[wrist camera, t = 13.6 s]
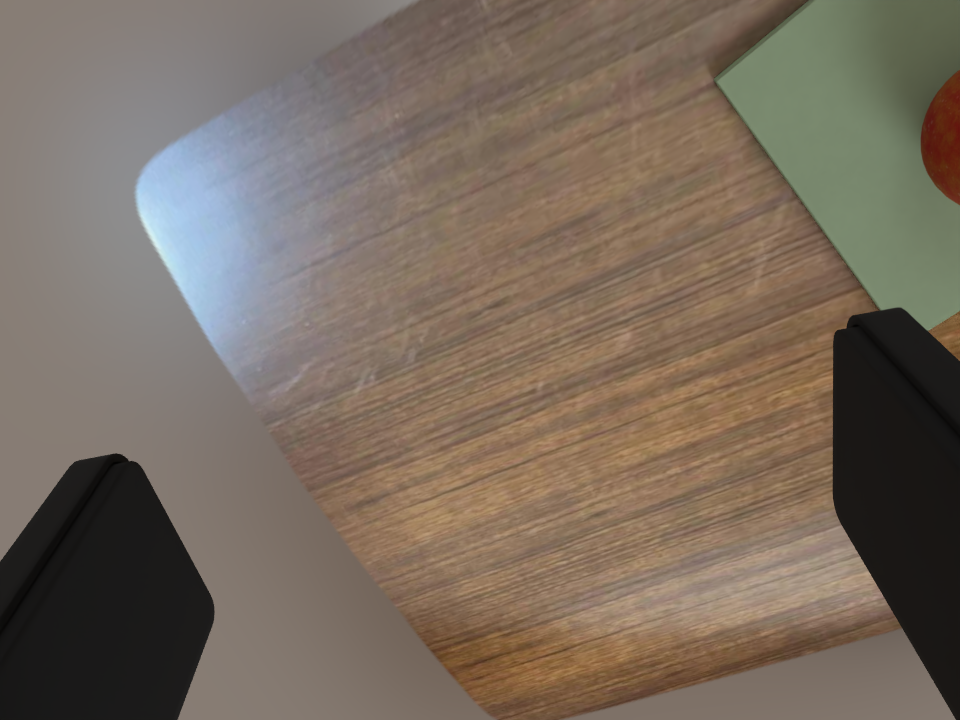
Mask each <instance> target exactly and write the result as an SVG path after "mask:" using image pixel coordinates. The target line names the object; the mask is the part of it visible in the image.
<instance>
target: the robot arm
mask: <svg viewBox="0 0 960 720" xmlns="http://www.w3.org/2000/svg"><path fill="white" fill-rule="evenodd" d="M833 501H834V506H835V510H836V513H837V516H838V518H839V521H840V523H841V525H842V526H843V528H844V530H845V531H846V533H847V535H848V537H849V538H850V540H851V542H852V543H853V545H854V547H855V548H856V550H857V552H858V554H859V555H860V557H861V559H862V560H863V562H864V564H865V565H866V567H867V569H868V571H869V572H870V574H871V576H872V577H873V579H874V581H875V582H876V584H877V586H878V588H879V589H880V591H881V593H882V594H883V596H884V598H885V599H886V601H887V603H888V605H889V606H890V608H891V610H892V611H893V613H894V615H895V617H896V618H897V620H898V622H899V623H900V625H901V627H902V628H903V630H904V632H905V633H906V635H907V637H908V639H909V640H910V642H911V644H912V645H913V647H914V649H915V651H916V652H917V654H918V656H919V657H920V659H921V661H922V662H923V664H924V666H925V668H926V669H927V671H928V673H929V674H930V676H931V678H932V679H933V681H934V683H935V685H936V686H937V688H938V690H939V691H940V693H941V694H942V697H943V698H944V700H945V702H946V703H947V705H948V707H949V708H950V710H951V712H952V714H953V715H954V717H955V719H956V720H960V361H959V360H958V359H957V358H956V357H955V356H953V355H952V354H951V353H950V352H949V351H948V350H947V349H946V348H945V347H944V346H943V345H942V344H941V343H940V342H939V341H938V340H937V339H935V338H934V337H933V336H932V335H931V334H930V333H929V332H928V331H927V330H926V329H925V328H924V327H923V326H922V325H921V324H920V323H919V322H917V321H916V320H915V319H914V318H913V317H912V316H911V315H910V314H909V313H908V312H907V311H906V310H904V309H903V308H901V307H896V308H891V309H886V310H880V311H875V312H870V313H864V314H859V315H853V316H851V317H850V318H849V321H848V323H847V328H846V329H841V330H837V331H836V332H835V335H834V341H833ZM213 621H214V604H213V600H212V597H211V595H210V593H209V591H208V589H207V587H206V586H205V584H204V582H203V580H202V578H201V576H200V574H199V573H198V571H197V569H196V567H195V565H194V563H193V561H192V560H191V558H190V556H189V554H188V552H187V550H186V548H185V547H184V545H183V543H182V541H181V539H180V537H179V535H178V534H177V532H176V530H175V528H174V526H173V525H172V523H171V521H170V519H169V517H168V515H167V513H166V511H165V509H164V508H163V506H162V504H161V502H160V500H159V499H158V497H157V495H156V493H155V491H154V489H153V487H152V485H151V484H150V482H149V480H148V478H147V476H146V474H145V472H144V471H143V469H142V468H141V466H140V465H139V464H138V463H136V462H134V461H128V459H127V458H126V457H124V456H123V455H121V454H110V455H105V456H100V457H95V458H89V459H84V460H79V461H76V462H74V463H73V464H72V465H71V466H70V467H69V469H68V470H67V471H66V472H65V474H64V475H63V477H62V478H61V479H60V481H59V482H58V483H57V485H56V486H55V488H54V489H53V490H52V492H51V493H50V494H49V496H48V497H47V499H46V500H45V501H44V503H43V504H42V505H41V507H40V508H39V509H38V511H37V512H36V514H35V515H34V516H33V518H32V519H31V521H30V522H29V523H28V524H27V526H26V527H25V529H24V530H23V531H22V533H21V534H20V535H19V537H18V538H17V539H16V541H15V542H14V544H13V545H12V546H11V548H10V549H9V550H8V552H7V553H6V555H5V556H4V557H3V559H2V560H1V561H0V720H177V719H178V717H179V714H180V711H181V709H182V706H183V703H184V701H185V698H186V695H187V693H188V690H189V687H190V684H191V682H192V679H193V676H194V674H195V671H196V668H197V666H198V663H199V660H200V657H201V655H202V652H203V649H204V647H205V644H206V641H207V639H208V636H209V633H210V631H211V628H212V624H213Z"/></svg>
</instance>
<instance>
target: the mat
mask: <svg viewBox="0 0 960 720" xmlns="http://www.w3.org/2000/svg"><path fill="white" fill-rule="evenodd" d="M959 70H960V0H809V1H808V2H806V3H805V4H804V5H803V6H801V7H800V8H799V9H798V10H797V11H795V12H794V13H793V14H792V15H791V16H789V17H788V18H787V19H786V20H785V21H783V22H782V23H781V24H780V25H778V26H777V27H776V28H775V29H774V30H772V31H771V32H770V33H769V34H768V35H766V36H765V37H764V38H763V39H761V40H760V41H759V42H758V43H757V44H755V45H754V46H753V47H752V48H751V49H749V50H748V51H747V52H746V53H745V54H743V55H742V56H741V57H740V58H738V59H737V60H736V61H735V62H734V63H732V64H731V65H730V66H729V67H728V68H726V69H725V70H724V71H723V72H722V73H720V74H719V75H718V76H717V77H715V78H714V81H715V83H716V84H717V86H718V87H719V88H720V90H721V91H722V92H723V94H724V95H725V97H726V98H727V99H728V101H729V102H730V104H731V105H732V106H733V108H734V109H735V110H736V112H737V113H738V115H739V116H740V117H741V119H742V120H743V122H744V123H745V124H746V126H747V127H748V128H749V130H750V131H751V133H752V134H753V135H754V137H755V138H756V140H757V141H758V142H759V144H760V145H761V146H762V148H763V149H764V151H765V152H766V153H767V155H768V156H769V158H770V159H771V160H772V162H773V163H774V164H775V166H776V167H777V169H778V170H779V171H780V173H781V174H782V176H783V177H784V178H785V180H786V181H787V182H788V184H789V185H790V187H791V188H792V189H793V191H794V192H795V194H796V195H797V196H798V198H799V199H800V200H801V202H802V203H803V205H804V206H805V207H806V209H807V210H808V212H809V213H810V214H811V216H812V217H813V218H814V220H815V221H816V223H817V224H818V225H819V227H820V228H821V230H822V231H823V232H824V234H825V235H826V236H827V238H828V239H829V241H830V242H831V243H832V245H833V246H834V248H835V249H836V250H837V252H838V253H839V254H840V256H841V257H842V259H843V260H844V261H845V263H846V264H847V266H848V267H849V268H850V270H851V271H852V272H853V274H854V275H855V277H856V278H857V279H858V281H859V282H860V284H861V285H862V286H863V288H864V289H865V290H866V292H867V293H868V295H869V296H870V297H871V299H872V300H873V302H874V303H875V304H876V306H877V307H878V308H879V310H886V309H891V308H896V307H901V308H903V309H904V310H906V311H907V312H908V313H909V314H910V315H911V316H912V317H913V318H914V319H915V320H916V321H917V322H919V323H920V324H921V325H922V326H923V327H924V328H925V329H926V330H927V331H928V330H930V329H932V328H933V327H935V326H936V325H938V324H940V323H941V322H943V321H944V320H946V319H947V318H949V317H951V316H952V315H954V314H955V313H957V312H959V311H960V205H958V204H957V203H955V202H954V201H952V200H950V199H949V198H948V197H946V196H945V195H944V194H943V193H942V192H941V191H940V190H939V189H938V188H937V187H936V186H935V184H934V183H933V182H932V180H931V178H930V177H929V175H928V173H927V171H926V169H925V166H924V164H923V160H922V154H921V131H922V125H923V122H924V118H925V115H926V112H927V110H928V108H929V106H930V103H931V102H932V100H933V98H934V97H935V95H936V94H937V92H938V91H939V90H940V88H941V87H942V86H943V85H944V83H945V82H946V81H947V80H948V79H949V78H950V77H952V76H953V75H954V74H955V73H956V72H957V71H959Z"/></svg>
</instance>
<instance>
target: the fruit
mask: <svg viewBox="0 0 960 720" xmlns="http://www.w3.org/2000/svg"><path fill="white" fill-rule="evenodd" d="M921 154H922V160H923V164H924V166H925V169H926V171H927V173H928V175H929V177H930V178H931V180H932V182H933V183H934V184H935V186H936V187H937V188H938V189H939V190H940V191H941V192H942V193H943V194H944V195H945V196H946V197H948V198H949V199H950V200H952V201H954V202H955V203H957V204H958V205H960V70H959V71H957V72H956V73H955V74H954V75H953V76H952V77H950V78H949V79H948V80H947V81H946V82H945V83H944V85H943V86H942V87H941V88H940V90H939V91H938V92H937V94H936V95H935V97H934V98H933V100H932V102H931V103H930V106H929V108H928V110H927V112H926V115H925V118H924V122H923V125H922V131H921Z"/></svg>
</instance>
